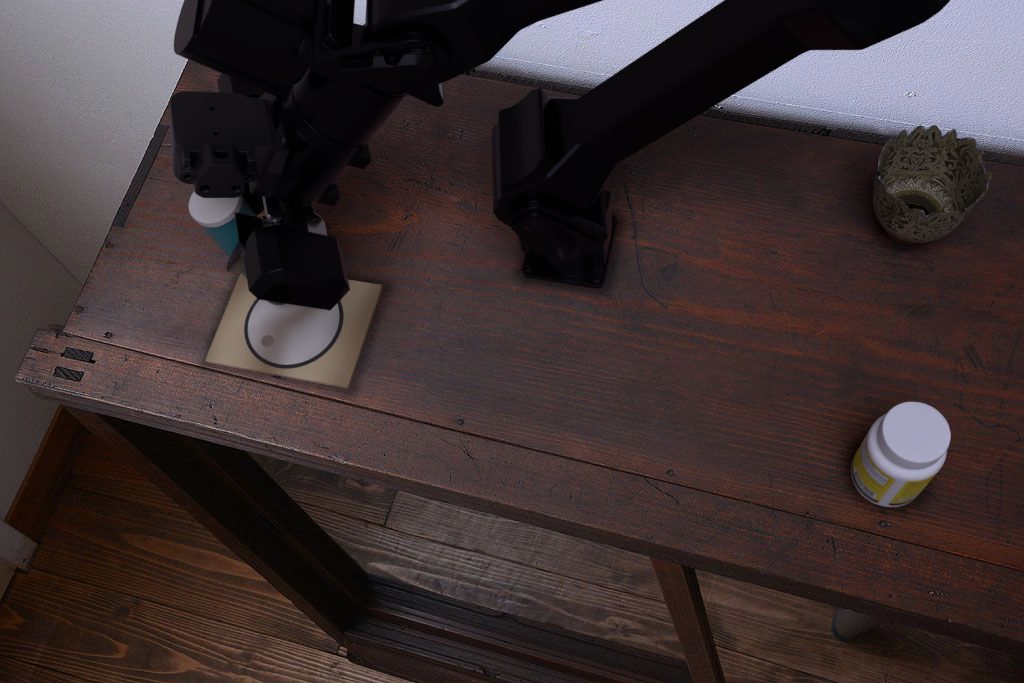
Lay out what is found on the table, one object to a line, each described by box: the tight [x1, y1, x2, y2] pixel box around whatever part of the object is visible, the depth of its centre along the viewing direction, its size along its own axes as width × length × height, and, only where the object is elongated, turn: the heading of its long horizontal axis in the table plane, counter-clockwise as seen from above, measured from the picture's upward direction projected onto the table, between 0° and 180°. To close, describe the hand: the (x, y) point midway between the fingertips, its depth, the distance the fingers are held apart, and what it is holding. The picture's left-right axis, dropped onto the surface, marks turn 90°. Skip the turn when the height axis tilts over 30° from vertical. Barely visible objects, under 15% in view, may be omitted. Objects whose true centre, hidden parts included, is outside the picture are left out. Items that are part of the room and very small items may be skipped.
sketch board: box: [204, 274, 383, 390], centre depth 77 cm, size 12×9×1 cm
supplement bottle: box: [850, 401, 952, 508], centre depth 63 cm, size 5×5×8 cm
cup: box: [872, 124, 993, 246], centre depth 71 cm, size 8×7×8 cm
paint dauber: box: [188, 190, 285, 305], centre depth 71 cm, size 4×4×12 cm
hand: (229, 249), depth 70 cm, fingers closed on paint dauber, 3 cm apart
